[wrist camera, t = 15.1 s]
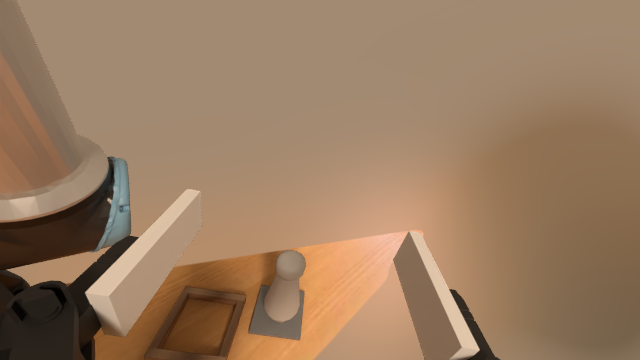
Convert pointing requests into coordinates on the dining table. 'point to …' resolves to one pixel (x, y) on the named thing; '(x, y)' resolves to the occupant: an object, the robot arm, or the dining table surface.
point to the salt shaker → (285, 287)
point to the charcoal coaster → (272, 328)
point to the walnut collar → (155, 355)
